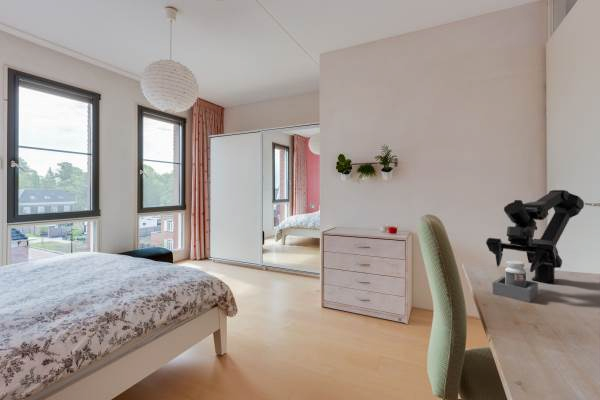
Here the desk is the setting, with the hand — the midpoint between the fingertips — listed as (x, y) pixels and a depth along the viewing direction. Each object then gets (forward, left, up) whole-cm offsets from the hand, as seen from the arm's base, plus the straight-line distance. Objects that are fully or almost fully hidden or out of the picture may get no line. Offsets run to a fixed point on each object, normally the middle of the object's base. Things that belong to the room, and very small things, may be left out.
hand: (513, 268), depth 94 cm
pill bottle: (-2, 0, -8) cm, 8 cm away
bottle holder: (-1, 0, -9) cm, 9 cm away
